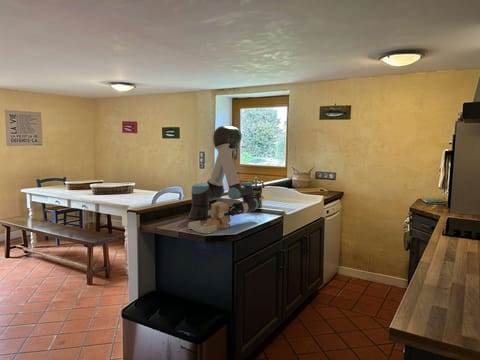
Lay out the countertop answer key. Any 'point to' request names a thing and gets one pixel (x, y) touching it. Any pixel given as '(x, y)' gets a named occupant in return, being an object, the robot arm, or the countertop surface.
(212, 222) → the tile
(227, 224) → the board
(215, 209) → the block
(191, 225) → the beige rounded slab
